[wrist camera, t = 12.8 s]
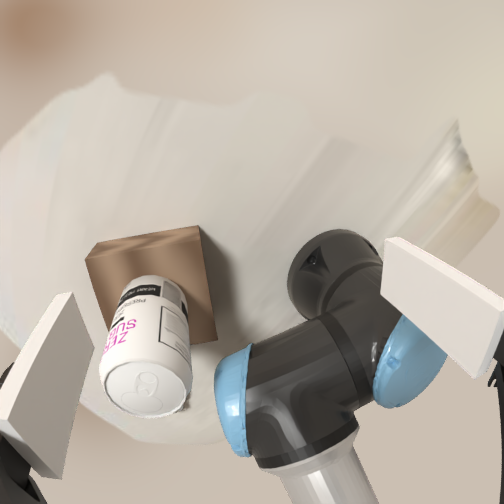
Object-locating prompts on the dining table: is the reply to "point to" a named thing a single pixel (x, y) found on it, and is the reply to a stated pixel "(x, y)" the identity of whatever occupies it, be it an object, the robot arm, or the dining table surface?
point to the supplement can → (148, 350)
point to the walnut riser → (155, 273)
